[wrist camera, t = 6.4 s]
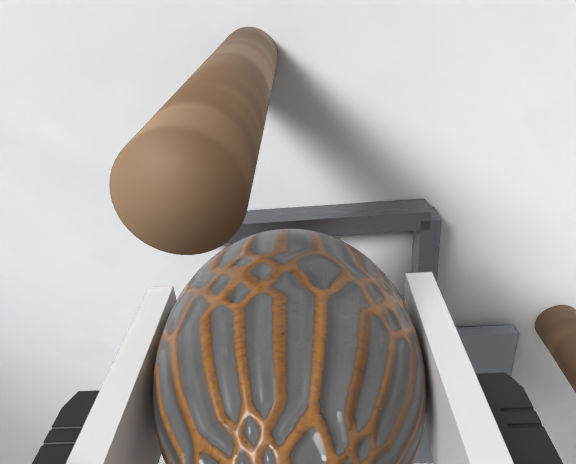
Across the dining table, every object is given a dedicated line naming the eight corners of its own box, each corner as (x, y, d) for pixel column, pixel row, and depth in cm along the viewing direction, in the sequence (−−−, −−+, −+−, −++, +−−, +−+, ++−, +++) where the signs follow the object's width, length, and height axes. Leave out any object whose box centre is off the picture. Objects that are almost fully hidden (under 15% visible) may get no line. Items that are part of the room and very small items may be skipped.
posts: (263, 353, 24) (237, 650, 14) (218, 29, 17) (93, 133, 7) (574, 337, 24) (797, 639, 13) (662, -10, 16) (1316, 39, 6)
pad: (330, 456, 28) (331, 466, 28) (323, 334, 24) (323, 343, 23) (491, 450, 28) (495, 459, 27) (513, 324, 23) (518, 332, 23)
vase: (414, 343, 17) (510, 650, 10) (230, 385, 18) (182, 691, 11) (369, 166, 14) (459, 411, 6) (150, 229, 15) (2, 503, 7)
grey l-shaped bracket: (219, 331, 24) (215, 349, 23) (196, 213, 21) (191, 227, 20) (426, 321, 23) (432, 337, 22) (434, 197, 20) (441, 211, 19)
